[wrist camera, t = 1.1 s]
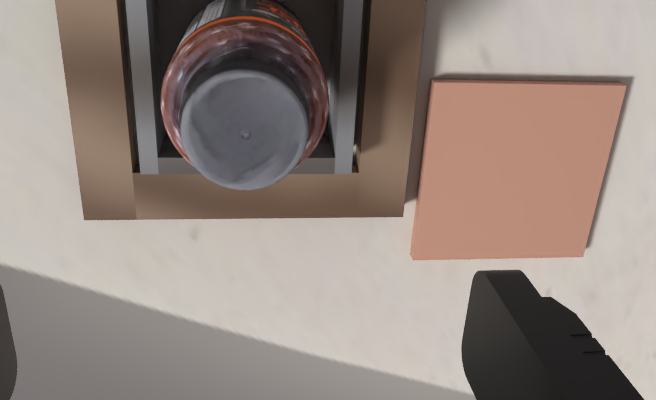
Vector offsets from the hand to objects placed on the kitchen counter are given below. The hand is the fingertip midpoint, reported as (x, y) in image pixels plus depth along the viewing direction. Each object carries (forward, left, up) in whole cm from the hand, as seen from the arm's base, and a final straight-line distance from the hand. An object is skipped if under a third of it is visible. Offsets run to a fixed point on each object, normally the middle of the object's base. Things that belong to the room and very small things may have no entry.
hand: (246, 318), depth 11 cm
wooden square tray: (0, 0, -21) cm, 21 cm away
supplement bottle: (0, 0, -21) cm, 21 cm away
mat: (+6, +14, -21) cm, 26 cm away
